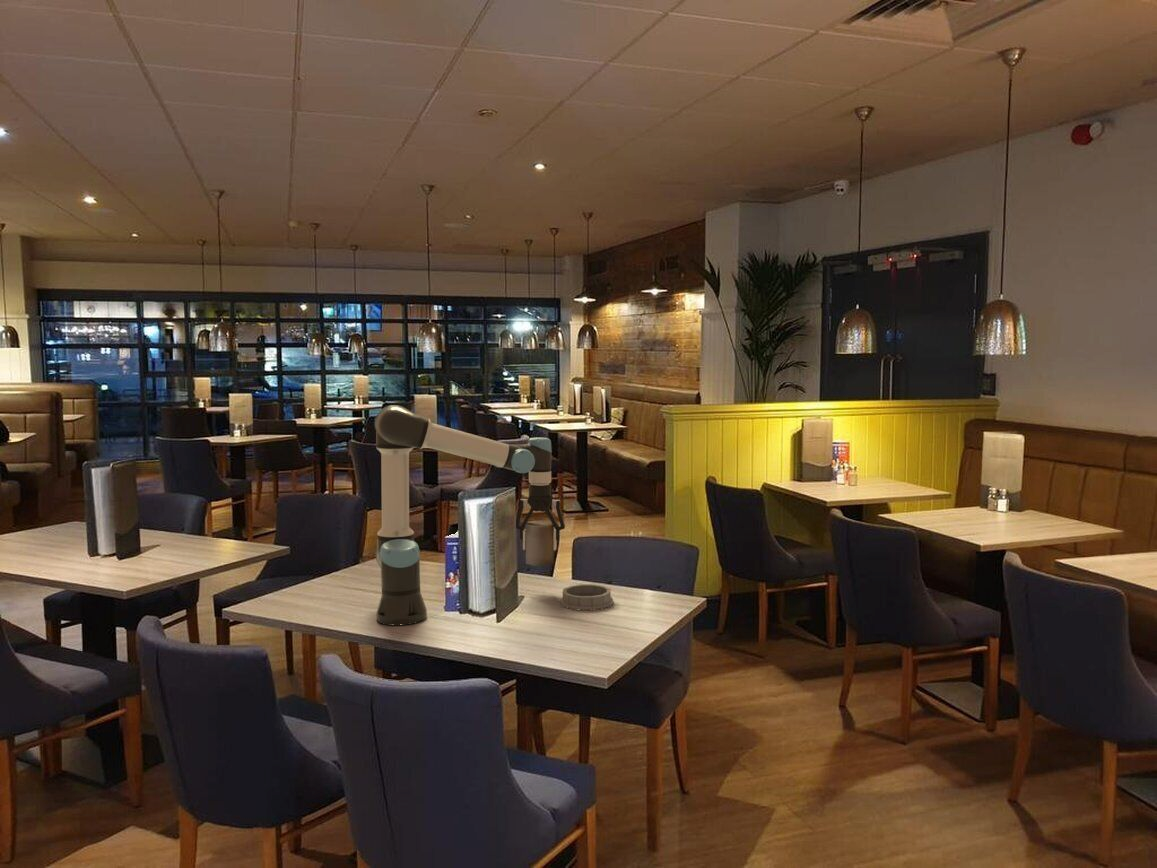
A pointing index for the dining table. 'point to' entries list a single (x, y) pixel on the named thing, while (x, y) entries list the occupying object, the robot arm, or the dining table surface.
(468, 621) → the dining table surface
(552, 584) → the dining table surface
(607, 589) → the candle dish
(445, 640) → the dining table surface
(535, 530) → the pillar candle
